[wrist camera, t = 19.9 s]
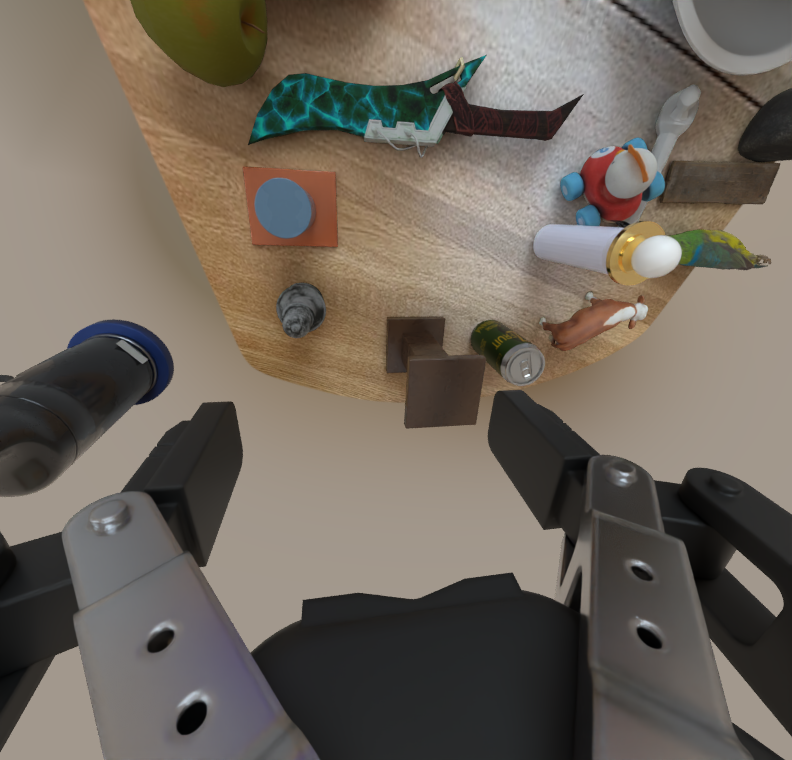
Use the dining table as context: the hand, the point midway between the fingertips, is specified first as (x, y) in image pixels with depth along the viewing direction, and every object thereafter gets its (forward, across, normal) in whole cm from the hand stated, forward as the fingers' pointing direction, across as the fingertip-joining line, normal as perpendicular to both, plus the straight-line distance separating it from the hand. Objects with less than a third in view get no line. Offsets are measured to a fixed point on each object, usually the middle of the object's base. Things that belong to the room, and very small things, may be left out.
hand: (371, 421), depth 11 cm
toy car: (+36, -33, -9) cm, 50 cm away
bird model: (+36, -52, -6) cm, 63 cm away
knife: (+38, -9, -17) cm, 42 cm away
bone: (+35, -40, -11) cm, 55 cm away
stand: (+38, -10, +11) cm, 41 cm away
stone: (+34, -61, -20) cm, 73 cm away
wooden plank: (+38, -51, -14) cm, 65 cm away
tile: (+38, +6, -6) cm, 39 cm away
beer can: (+38, -21, +10) cm, 45 cm away
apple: (+35, +16, -23) cm, 45 cm away
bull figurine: (+38, -34, +6) cm, 52 cm away
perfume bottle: (+38, -28, -3) cm, 47 cm away
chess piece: (+38, +5, +5) cm, 39 cm away
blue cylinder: (+38, +5, -6) cm, 38 cm away
